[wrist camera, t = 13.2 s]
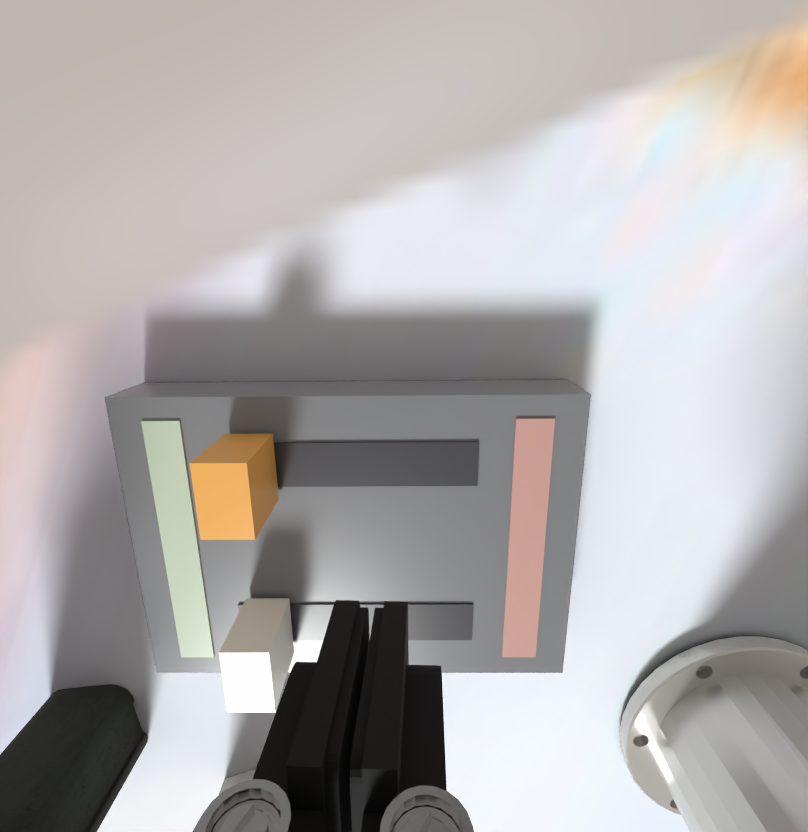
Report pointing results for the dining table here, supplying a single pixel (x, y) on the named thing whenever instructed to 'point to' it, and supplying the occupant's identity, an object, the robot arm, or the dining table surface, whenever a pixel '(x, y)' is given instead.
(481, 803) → the dining table surface
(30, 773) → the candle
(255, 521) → the breaker handle
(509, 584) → the breaker panel
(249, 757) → the dining table surface
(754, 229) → the dining table surface
